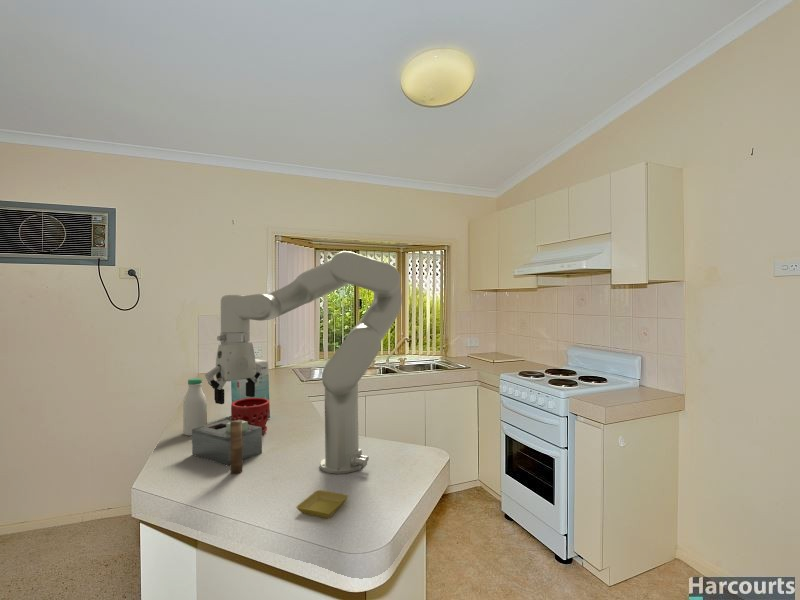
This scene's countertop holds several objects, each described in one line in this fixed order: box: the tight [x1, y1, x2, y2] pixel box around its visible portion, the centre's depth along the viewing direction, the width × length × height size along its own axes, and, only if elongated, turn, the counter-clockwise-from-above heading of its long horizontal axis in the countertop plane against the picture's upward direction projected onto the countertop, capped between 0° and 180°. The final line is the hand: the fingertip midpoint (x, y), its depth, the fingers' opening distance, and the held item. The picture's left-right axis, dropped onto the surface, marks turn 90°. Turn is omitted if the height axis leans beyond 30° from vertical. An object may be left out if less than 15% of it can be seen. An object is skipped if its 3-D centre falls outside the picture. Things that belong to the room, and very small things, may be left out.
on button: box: [226, 421, 248, 433], centre depth 121 cm, size 4×4×5 cm
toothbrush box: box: [230, 358, 271, 419], centre depth 166 cm, size 18×10×24 cm, turn 41°
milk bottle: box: [182, 377, 208, 437], centre depth 146 cm, size 8×8×20 cm
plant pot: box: [230, 398, 270, 435], centre depth 143 cm, size 13×13×12 cm
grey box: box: [191, 419, 263, 467], centre depth 123 cm, size 18×12×8 cm, turn 58°
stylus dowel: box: [230, 420, 243, 475], centre depth 109 cm, size 3×3×14 cm
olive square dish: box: [296, 489, 349, 519], centre depth 88 cm, size 9×9×2 cm
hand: (235, 399), depth 110 cm, fingers open, 9 cm apart
